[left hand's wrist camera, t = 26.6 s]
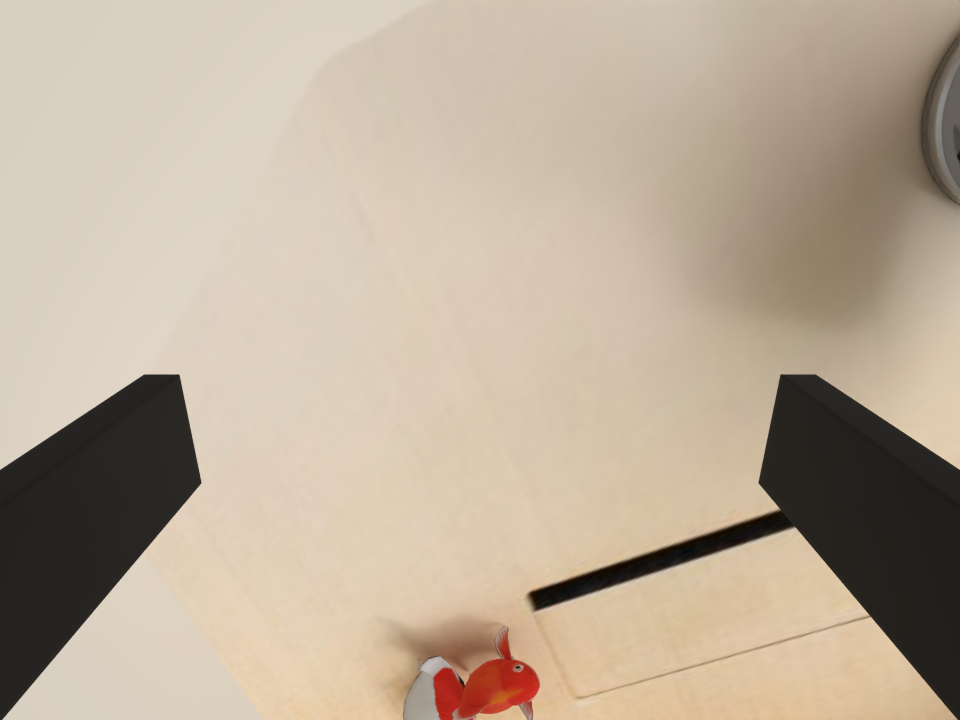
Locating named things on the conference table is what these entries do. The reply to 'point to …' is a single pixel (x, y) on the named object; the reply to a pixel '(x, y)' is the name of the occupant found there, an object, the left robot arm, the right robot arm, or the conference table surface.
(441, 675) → the fish
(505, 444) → the conference table surface
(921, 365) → the conference table surface
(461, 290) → the conference table surface
